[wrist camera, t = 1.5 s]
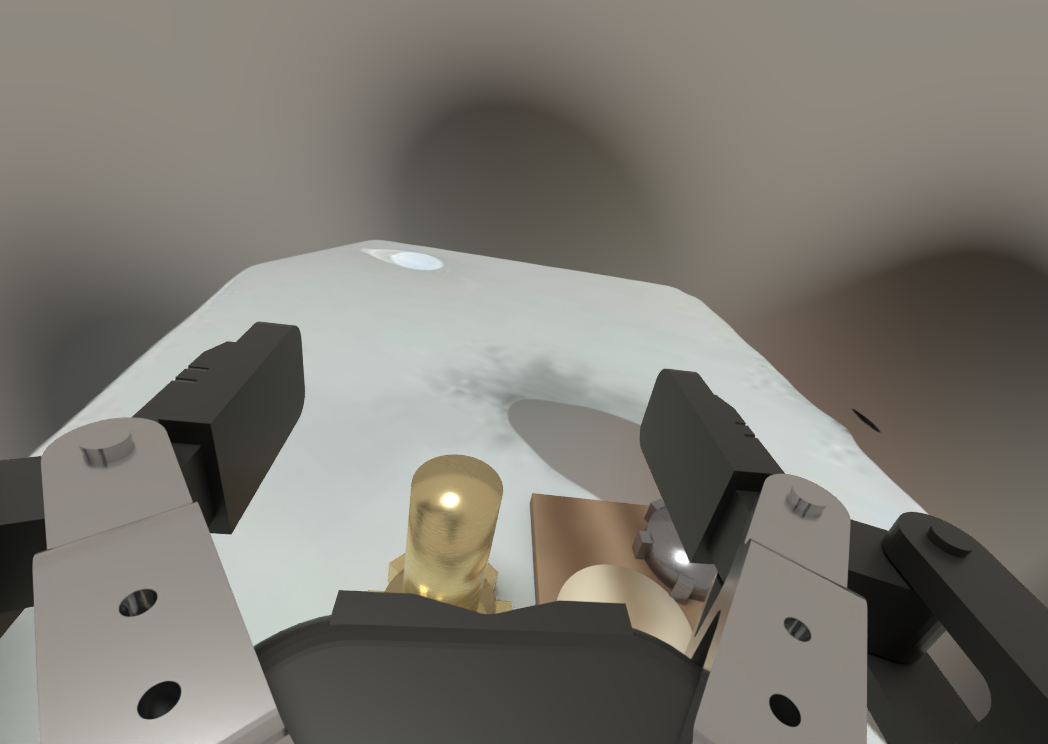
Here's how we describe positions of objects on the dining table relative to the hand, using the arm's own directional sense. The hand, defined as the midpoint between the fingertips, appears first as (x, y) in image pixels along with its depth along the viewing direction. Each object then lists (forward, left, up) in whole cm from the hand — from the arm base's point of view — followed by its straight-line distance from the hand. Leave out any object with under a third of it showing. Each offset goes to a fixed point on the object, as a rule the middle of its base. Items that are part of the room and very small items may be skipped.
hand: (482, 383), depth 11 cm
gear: (+20, +17, -25) cm, 36 cm away
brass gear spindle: (0, +10, -26) cm, 28 cm away
